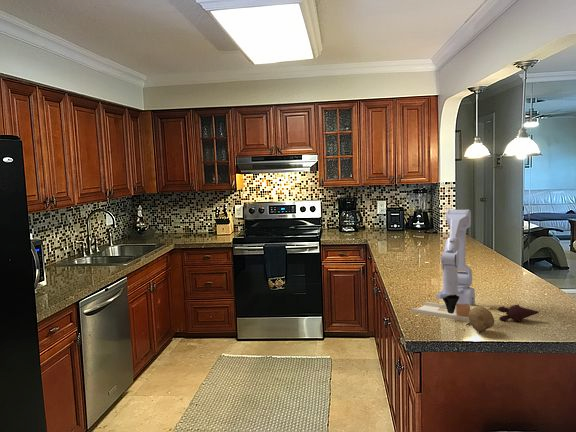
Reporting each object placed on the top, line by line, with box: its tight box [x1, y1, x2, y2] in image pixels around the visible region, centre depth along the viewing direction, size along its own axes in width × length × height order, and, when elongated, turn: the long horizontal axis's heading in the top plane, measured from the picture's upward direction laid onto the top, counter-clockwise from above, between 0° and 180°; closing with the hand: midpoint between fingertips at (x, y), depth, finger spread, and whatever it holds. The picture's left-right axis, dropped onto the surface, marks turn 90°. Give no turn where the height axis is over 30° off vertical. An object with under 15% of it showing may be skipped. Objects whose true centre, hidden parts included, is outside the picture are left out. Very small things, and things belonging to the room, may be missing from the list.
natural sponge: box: [469, 305, 495, 333], centre depth 183 cm, size 9×9×10 cm
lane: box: [411, 301, 473, 327], centre depth 204 cm, size 26×13×4 cm, turn 49°
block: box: [455, 304, 471, 317], centre depth 199 cm, size 5×5×4 cm
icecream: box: [497, 304, 540, 322], centre depth 194 cm, size 7×7×15 cm
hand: (450, 312), depth 201 cm, fingers closed
